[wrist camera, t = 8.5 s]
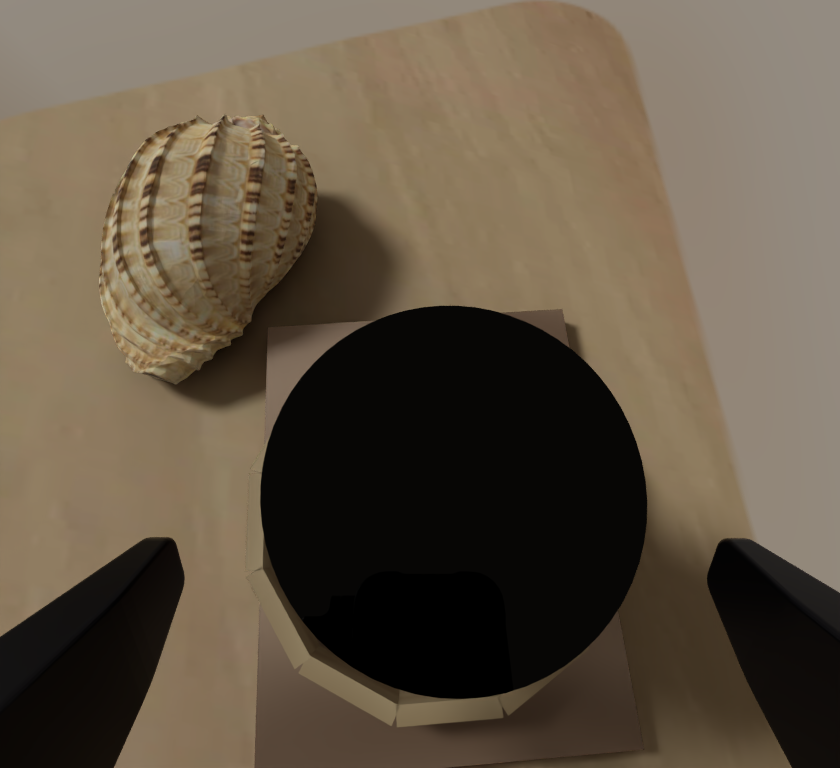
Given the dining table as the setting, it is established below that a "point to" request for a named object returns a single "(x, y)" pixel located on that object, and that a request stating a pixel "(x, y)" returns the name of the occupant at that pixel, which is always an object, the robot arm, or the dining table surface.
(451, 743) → the collar board
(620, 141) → the dining table surface
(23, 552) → the dining table surface
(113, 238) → the seashell
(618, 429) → the supplement container
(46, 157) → the dining table surface
